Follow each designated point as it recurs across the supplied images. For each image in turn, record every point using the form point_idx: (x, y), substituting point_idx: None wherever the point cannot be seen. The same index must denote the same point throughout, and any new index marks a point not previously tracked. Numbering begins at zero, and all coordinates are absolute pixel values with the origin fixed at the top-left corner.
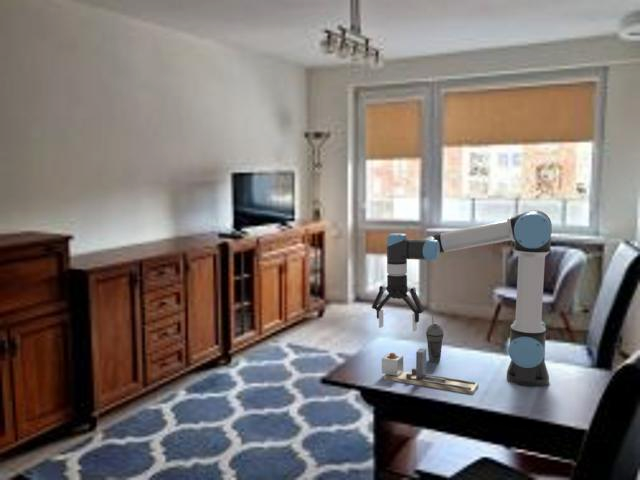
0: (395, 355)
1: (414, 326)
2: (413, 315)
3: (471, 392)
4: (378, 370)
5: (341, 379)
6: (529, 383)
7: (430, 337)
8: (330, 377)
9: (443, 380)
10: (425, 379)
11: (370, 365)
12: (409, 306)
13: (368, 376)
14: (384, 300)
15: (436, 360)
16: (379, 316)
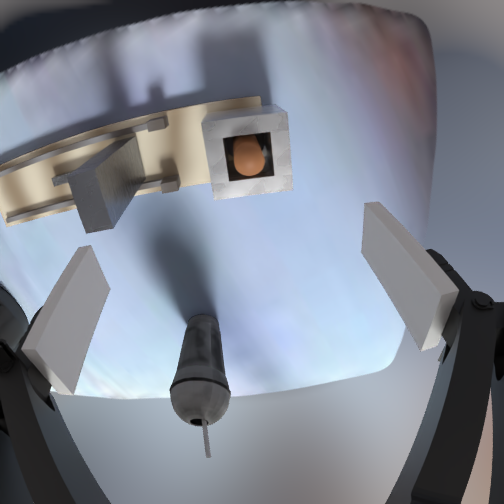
0: (247, 183)
1: (64, 271)
2: (30, 340)
3: None
4: (318, 164)
5: (388, 27)
6: None
7: (200, 373)
8: (424, 33)
9: (57, 175)
10: None
11: (362, 194)
12: (36, 430)
13: (323, 91)
14: (462, 443)
15: (190, 322)
16: (422, 255)
